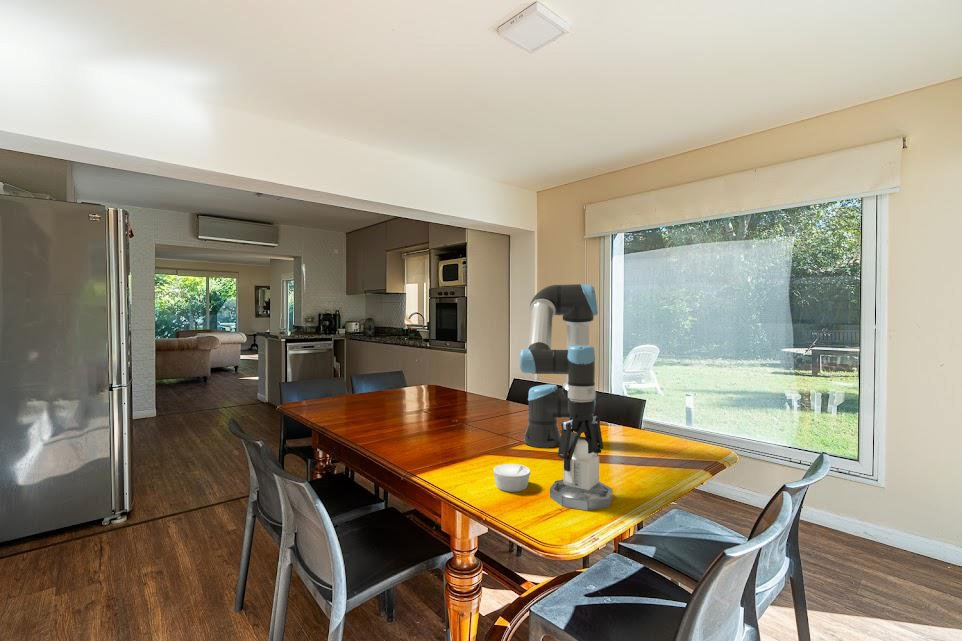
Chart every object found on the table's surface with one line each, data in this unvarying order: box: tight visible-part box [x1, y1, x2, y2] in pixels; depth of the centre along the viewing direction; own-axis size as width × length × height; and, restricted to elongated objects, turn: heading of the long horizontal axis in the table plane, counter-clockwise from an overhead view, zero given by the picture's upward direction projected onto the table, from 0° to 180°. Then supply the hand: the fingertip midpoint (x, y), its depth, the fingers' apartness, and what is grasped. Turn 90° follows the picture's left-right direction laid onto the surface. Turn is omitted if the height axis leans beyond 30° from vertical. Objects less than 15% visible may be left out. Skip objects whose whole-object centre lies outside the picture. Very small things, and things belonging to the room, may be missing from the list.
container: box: [562, 436, 600, 490], centre depth 130 cm, size 8×8×13 cm
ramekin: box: [493, 463, 531, 493], centre depth 138 cm, size 11×11×5 cm
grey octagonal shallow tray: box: [549, 479, 614, 511], centre depth 130 cm, size 17×17×2 cm
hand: (581, 478), depth 130 cm, fingers closed on container, 9 cm apart
